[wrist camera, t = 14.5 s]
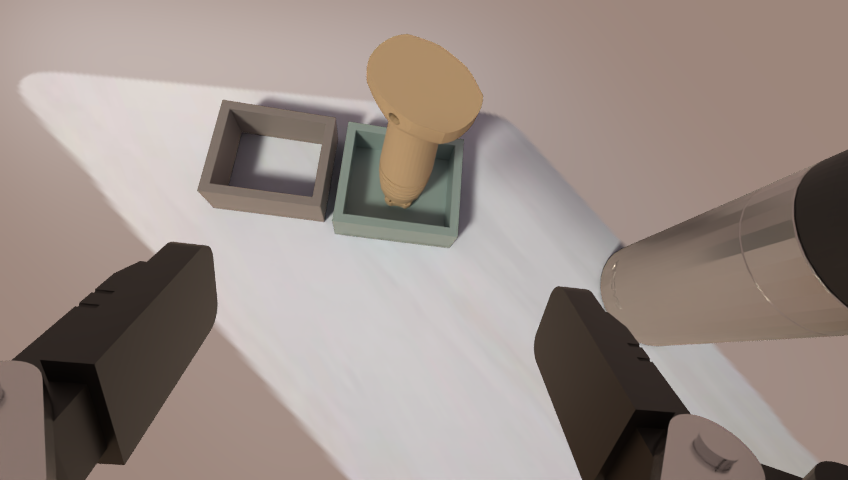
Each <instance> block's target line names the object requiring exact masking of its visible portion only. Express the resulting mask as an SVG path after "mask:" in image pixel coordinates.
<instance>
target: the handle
mask: <svg viewBox="0 0 848 480" xmlns="http://www.w3.org/2000/svg"><path fill="white" fill-rule="evenodd" d="M367 83H368V86H369V88H370V90H371V93H372V95H373V97H374V99H375V101H376V103H377V105H378V107H379V108H380V110H381V111H382V113H383V114H384V116H385V117H386V119H387V120H388V126H387V131H386V135H385V139H384V143H383V147H382V152H381V156H380V164H379V177H380V185H381V189H382V191H383V193H384V195H385V202H386V203H387V205H389V206H399V207H402V208H403V209H406V208H408V207H409V206H410V205H411V203H412V201H413V200H416V199H417V198H418V197H419V195H420V194H421V192H422V191H423V190H424V188H425V186H426V184H427V182H428V180H429V178H430V175H431V172H432V169H433V165H434V161H435V157H436V152H437V148H438V144H444V143H449V142H452V141H454V140H456V139H458V138H459V137H461V136H462V135H463V134H464V133H465V132H467V130H468V129H469V128H470V127H471V125H472V124H473V122H474V121H475V119H476V117H477V115H478V113H479V111H480V109H481V105H482V102H483V94H482V93H481V91H480V89H479V87H478V85H477V83H476V81H475V79H474V77H473V76H472V74H471V73H470V71H469V70H468V68H467V67H466V66H465V65H463V63H462V62H460V61H459V60H458V59H457V58H456V57H454V56H453V55H452V54H451V53H449V52H448V51H447V50H445V49H444V48H442V47H441V46H439V45H437V44H435V43H433V42H430V41H428V40H425V39H421V38H419V37H416V36H412V35H409V34H404V35H398V36H394V37H392V38H390V39H388V40H386V41H385V42H383V43H382V44H380V45H379V46H378V47H377V48H376V49H375V50H374V52H373V53H372V54H371V56H370V58H369V61H368V65H367Z"/></svg>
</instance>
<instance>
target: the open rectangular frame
mask: <svg viewBox="0 0 848 480" xmlns="http://www.w3.org/2000/svg"><path fill="white" fill-rule="evenodd" d="M242 132H243V133H250V134H257V135H263V136H270V137H277V138H283V139H290V140H297V141H304V142H310V143H317V144H322V148H321V153H320V158H319V164H318V169H317V175H316V180H315V186H314V191H313V197H307V196H300V195H293V194H285V193H278V192H270V191H263V190H255V189H248V188H240V187H233V186H228V185H229V181H230V177H231V173H232V169H233V165H234V161H235V158H236V154H237V150H238V146H239V142H240V138H241V134H242ZM337 143H338V134H337V125H336V118H335V117H329V116H322V115H316V114H310V113H303V112H297V111H291V110H284V109H278V108H271V107H265V106H259V105H252V104H246V103H240V102H233V101H227V100H222V104H221V107H220V111H219V114H218V118H217V122H216V125H215V129H214V132H213V136H212V140H211V143H210V147H209V150H208V154H207V158H206V161H205V165H204V168H203V172H202V175H201V179H200V183H199V186H198V190H197V191H198V192H199V193H200V194H201V195H202V196H203V197H204V198H205V199H206V200H207V201H208V202H209V203H210V204H211V206H212V207H213V208H220V209H227V210H235V211H243V212H251V213H259V214H267V215H275V216H282V217H290V218H298V219H306V220H314V221H322V222H324V220H325V214H326V208H327V202H328V196H329V190H330V184H331V178H332V173H333V167H334V161H335V155H336V149H337Z"/></svg>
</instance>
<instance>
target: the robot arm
mask: <svg viewBox="0 0 848 480" xmlns="http://www.w3.org/2000/svg"><path fill="white" fill-rule="evenodd" d="M600 289H601V296H602V300H603V303H604V306H605V309H606V311H607V312H605V311H604V309H603V308H602V306H601V305H600V304H599V302H598V301H597V299H596V298H595V296H594V295H593V294H592V292H591V291H589V290H587V289H578V288H569V287H560V286H558V287H556V288H554V290H553V291H552V293H551V295H550V298H549V300H548V303H547V306H546V309H545V311H544V314H543V317H542V319H541V322H540V325H539V328H538V330H537V333H536V336H535V341H534V354H535V359H536V362H537V365H538V367H539V370H540V373H541V375H542V378H543V380H544V383H545V385H546V388H547V391H548V393H549V396H550V398H551V401H552V403H553V406H554V409H555V411H556V414H557V416H558V419H559V421H560V424H561V427H562V429H563V432H564V434H565V437H566V439H567V442H568V444H569V447H570V450H571V452H572V455H573V457H574V460H575V462H576V465H577V468H578V470H579V473H580V475H581V478H582V480H848V466H847V465H843V464H840V463H836V462H829V461H824V462H820V463H818V464H817V465H816V466H815V467H814V468H813V469H812V470H811V471H810V472H809V473H808V474H807V475H806V476H805V477H804V478H801V477H798V476H795V475H792V474H789V473H786V472H783V471H781V470H778V469H775V468H772V467H769V466H766V465H763V464H760V463H759V461H758V459H757V458H756V456H755V455H754V454H753V453H752V451H751V450H750V449H749V448H748V447H747V446H746V445H745V444H744V443H743V442H742V441H741V440H740V439H739V438H737V437H736V436H735V435H734V434H732V433H731V432H730V431H728V430H727V429H725V428H724V427H722V426H720V425H718V424H717V423H715V422H713V421H710V420H708V419H706V418H703V417H700V416H696V415H691V414H690V412H689V411H688V410H687V408H686V407H685V406H684V404H683V403H682V401H681V400H680V399H679V397H678V396H677V395H676V393H675V392H674V391H673V389H672V388H671V386H670V385H669V384H668V382H667V381H666V380H665V378H664V377H663V376H662V374H661V373H660V372H659V370H658V369H657V367H656V366H655V365H654V363H653V362H650V358H649V357H648V355H647V354H646V352H645V351H644V350H643V348H640V347H639V343H642V344H645V345H651V346H669V345H687V344H707V343H724V342H743V341H758V340H759V341H760V340H777V339H795V338H811V337H812V338H813V337H830V336H844V335H848V150H846V151H844V152H841V153H839V154H837V155H835V156H832V157H830V158H828V159H825V160H823V161H821V162H819V163H817V164H815V165H812V166H810V167H808V168H805V169H803V170H801V171H799V172H796V173H794V174H792V175H789V176H787V177H785V178H782V179H780V180H778V181H776V182H773V183H771V184H769V185H767V186H765V187H763V188H760V189H758V190H756V191H753V192H751V193H749V194H746V195H744V196H742V197H740V198H737V199H735V200H733V201H730V202H728V203H726V204H724V205H721V206H719V207H717V208H715V209H712V210H710V211H707V212H705V213H703V214H701V215H698V216H696V217H694V218H691V219H689V220H687V221H685V222H682V223H680V224H678V225H675V226H673V227H671V228H668V229H666V230H664V231H662V232H659V233H657V234H655V235H652V236H650V237H648V238H646V239H643V240H641V241H639V242H636V243H634V244H631V245H629V246H627V247H625V248H622V249H621V250H619V251H617V252H616V253H614V254H613V255H612V256H611V258H610V259H609V260H608V261H607V263H606V265H605V267H604V269H603V272H602V276H601V287H600ZM216 314H217V292H216V282H215V271H214V261H213V253H212V250H211V248H210V247H209V246H205V245H196V244H187V243H179V242H169V243H168V244H166V245H165V246H164V247H163V248H162V249H161V250H160V251H158V252H157V253H156V254H155V255H154V256H153V257H152V258H151V259H150V260H149V261H147V262H143V261H139V262H138V263H135V264H133V265H131V266H129V267H127V268H125V269H122V270H120V271H118V272H116V273H114V274H113V275H112V276H110V277H109V278H108V279H107V280H106V281H104V282H103V283H102V284H101V285H100V286H99V287H97V288H96V289H95V293H90V294H89V295H88V296H87V297H86V298H85V299H83V300H82V301H81V302H80V303H79V306H78V307H76V306H75V307H74V308H73V309H72V310H70V311H69V312H68V313H67V314H66V315H64V316H63V317H62V318H61V319H60V320H58V321H57V322H56V323H55V324H54V325H53V326H52V327H50V328H49V329H48V330H47V331H45V332H44V333H43V334H42V335H41V336H40V337H39V338H37V339H36V340H35V341H34V342H33V343H31V344H30V345H29V346H28V347H27V348H25V349H24V350H23V351H22V352H21V353H20V354H18V355H17V356H16V357H15V358H14V359H12V360H11V361H0V480H85V479H86V478H87V476H88V475H89V474H90V472H91V471H92V469H93V468H94V467H95V465H96V464H97V463H99V464H117V465H125V463H126V462H127V460H128V459H129V457H130V455H131V454H132V452H133V451H134V449H135V448H136V446H137V444H138V443H139V442H140V440H141V438H142V437H143V435H144V434H145V432H146V431H147V429H148V427H149V426H150V424H151V423H152V421H153V420H154V418H155V416H156V415H157V413H158V412H159V410H160V409H161V407H162V406H163V404H164V403H165V401H166V399H167V398H168V396H169V395H170V393H171V391H172V390H173V388H174V387H175V385H176V384H177V382H178V381H179V379H180V377H181V376H182V374H183V373H184V371H185V370H186V368H187V366H188V365H189V363H190V362H191V360H192V358H193V357H194V356H195V354H196V353H197V351H198V349H199V348H200V346H201V345H202V343H203V342H204V340H205V338H206V337H207V335H208V334H209V332H210V331H211V329H212V327H213V324H214V322H215V318H216ZM638 342H639V343H638Z"/></svg>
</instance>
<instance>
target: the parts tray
mask: <svg viewBox="0 0 848 480" xmlns="http://www.w3.org/2000/svg"><path fill="white" fill-rule="evenodd" d="M386 131H387V127H380V126H374V125H368V124H361V123H355V122H348V128H347V134H346V140H345V146H344V152H343V158H342V164H341V170H340V177H339V183H338V189H337V195H336V201H335V207H334V213H333V219H332V222H333V227H334V232H335V234H340V235H348V236H356V237H364V238H372V239H380V240H388V241H396V242H404V243H412V244H420V245H428V246H436V247H444V248H450V246H451V245H452V244H453V242H454V241H455V240H456V239H457V237H458V224H459V208H460V191H461V175H462V159H463V143H464V140H463V139H456V140H454V141H452V142H449V143H444V144H438V148H437V152H436V157H435V161H434V165H433V169H432V172H431V175H430V178H429V180H428V182H427V184H426V186H425V188H424V190H423V191H422V192H421V194H420V195H419V197H418V198H417V199H416V200H413V201H412V203H411V205H410V206H409V207H408V208H406V209H403V208H402V207H399V206H389V205H387V203H386V202H385V195H384V193H383V191H382V189H381V185H380V177H379V164H380V156H381V152H382V147H383V143H384V139H385V135H386Z"/></svg>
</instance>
